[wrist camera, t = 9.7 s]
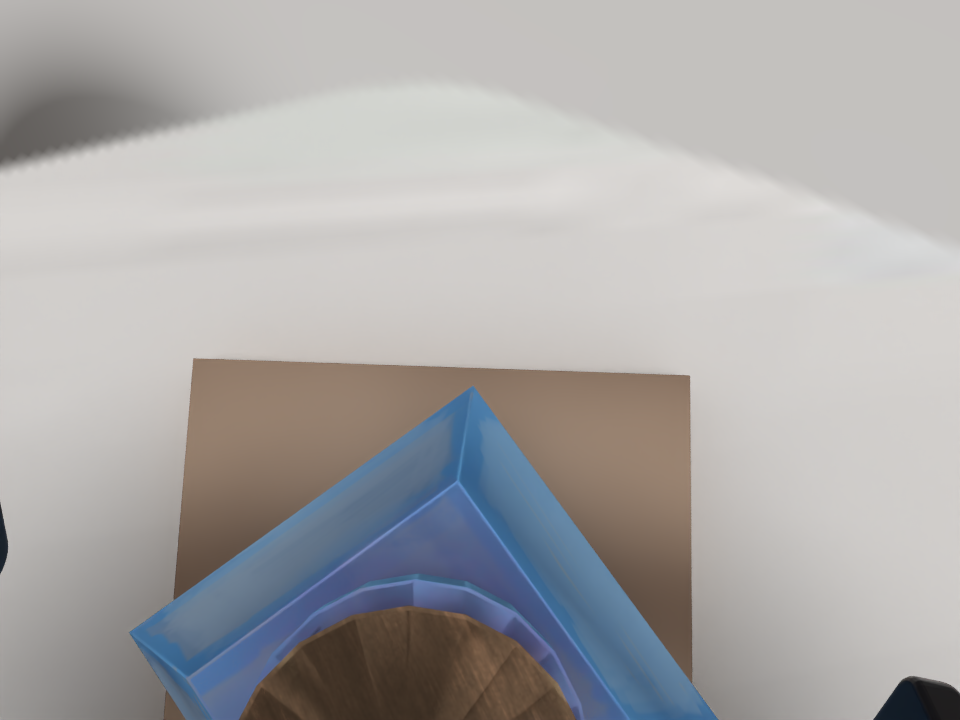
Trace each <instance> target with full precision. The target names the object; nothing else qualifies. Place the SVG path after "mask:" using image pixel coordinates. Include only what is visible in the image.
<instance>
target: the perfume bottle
mask: <svg viewBox="0 0 960 720" xmlns="http://www.w3.org/2000/svg"><path fill="white" fill-rule="evenodd" d="M129 633H130V635H131V636H132V638H133V639H134V641H135V642H136V644H137V645H138V647H139V648H140V650H141V652H142V653H143V655H144V656H145V658H146V659H147V661H148V662H149V664H150V665H151V667H152V668H153V670H154V671H155V673H156V675H157V676H158V678H159V679H160V681H161V682H162V684H163V685H164V687H165V688H166V690H167V691H168V693H169V694H170V696H171V698H172V699H173V701H174V702H175V704H176V705H177V707H178V708H179V710H180V711H181V713H182V714H183V716H184V717H185V719H186V720H718V719H717V717H716V716H715V715H714V713H713V712H712V711H711V709H710V708H709V707H708V705H707V704H706V702H705V701H704V700H703V698H702V697H701V696H700V694H699V693H698V692H697V690H696V689H695V687H694V686H693V685H692V683H691V682H690V681H689V679H688V678H687V677H686V675H685V674H684V672H683V671H682V670H681V668H680V667H679V666H678V664H677V663H676V662H675V660H674V659H673V657H672V656H671V655H670V653H669V652H668V651H667V649H666V648H665V646H664V645H663V644H662V642H661V641H660V640H659V638H658V637H657V636H656V634H655V633H654V631H653V630H652V629H651V627H650V626H649V625H648V623H647V622H646V621H645V619H644V618H643V616H642V615H641V614H640V612H639V611H638V610H637V608H636V607H635V606H634V604H633V603H632V601H631V600H630V599H629V597H628V596H627V595H626V593H625V592H624V591H623V589H622V588H621V586H620V585H619V584H618V582H617V581H616V580H615V578H614V577H613V576H612V574H611V573H610V571H609V570H608V569H607V567H606V566H605V565H604V563H603V562H602V561H601V559H600V558H599V556H598V555H597V554H596V552H595V551H594V550H593V548H592V547H591V546H590V544H589V543H588V541H587V540H586V539H585V537H584V536H583V535H582V533H581V532H580V531H579V529H578V528H577V526H576V525H575V524H574V522H573V521H572V520H571V518H570V517H569V516H568V514H567V513H566V511H565V510H564V509H563V507H562V506H561V505H560V503H559V502H558V501H557V499H556V498H555V496H554V495H553V494H552V492H551V491H550V490H549V488H548V487H547V486H546V484H545V483H544V481H543V480H542V479H541V477H540V476H539V475H538V473H537V472H536V471H535V469H534V468H533V466H532V465H531V464H530V462H529V461H528V460H527V458H526V457H525V455H524V454H523V453H522V451H521V450H520V449H519V447H518V446H517V445H516V443H515V442H514V440H513V439H512V438H511V436H510V435H509V434H508V432H507V431H506V430H505V428H504V427H503V425H502V424H501V423H500V421H499V420H498V419H497V417H496V416H495V415H494V413H493V412H492V410H491V409H490V408H489V406H488V405H487V404H486V402H485V401H484V400H483V398H482V397H481V395H480V394H479V393H478V391H477V390H476V389H475V387H474V386H472V387H470V388H469V389H468V390H466V391H465V392H463V393H462V394H461V395H459V396H458V397H456V398H455V399H454V400H452V401H451V402H450V403H448V404H447V405H445V406H444V407H443V408H441V409H440V410H438V411H437V412H436V413H434V414H433V415H431V416H430V417H429V418H427V419H426V420H424V421H423V422H422V423H420V424H419V425H417V426H416V427H415V428H413V429H412V430H411V431H409V432H408V433H406V434H405V435H404V436H402V437H401V438H399V439H398V440H397V441H395V442H394V443H392V444H391V445H390V446H388V447H387V448H385V449H384V450H383V451H381V452H380V453H378V454H377V455H376V456H374V457H373V458H372V459H370V460H369V461H367V462H366V463H365V464H363V465H362V466H360V467H359V468H358V469H356V470H355V471H353V472H352V473H351V474H349V475H348V476H346V477H345V478H344V479H342V480H341V481H339V482H338V483H337V484H335V485H334V486H333V487H331V488H330V489H328V490H327V491H326V492H324V493H323V494H321V495H320V496H319V497H317V498H316V499H314V500H313V501H312V502H310V503H309V504H307V505H306V506H305V507H303V508H302V509H300V510H299V511H298V512H296V513H295V514H294V515H292V516H291V517H289V518H288V519H287V520H285V521H284V522H282V523H281V524H280V525H278V526H277V527H275V528H274V529H273V530H271V531H270V532H268V533H267V534H266V535H264V536H263V537H262V538H260V539H259V540H257V541H256V542H255V543H253V544H252V545H250V546H249V547H248V548H246V549H245V550H243V551H242V552H241V553H239V554H238V555H236V556H235V557H234V558H232V559H231V560H229V561H228V562H227V563H225V564H224V565H223V566H221V567H220V568H218V569H217V570H216V571H214V572H213V573H211V574H210V575H209V576H207V577H206V578H204V579H203V580H202V581H200V582H199V583H197V584H196V585H195V586H193V587H192V588H190V589H189V590H188V591H186V592H185V593H184V594H182V595H181V596H179V597H178V598H177V599H175V600H174V601H172V602H171V603H170V604H168V605H167V606H165V607H164V608H163V609H161V610H160V611H158V612H157V613H156V614H154V615H153V616H151V617H150V618H149V619H147V620H146V621H145V622H143V623H142V624H140V625H139V626H138V627H136V628H135V629H133V630H132V631H131V632H129Z"/></svg>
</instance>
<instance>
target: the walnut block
mask: <svg viewBox="0 0 960 720" xmlns="http://www.w3.org/2000/svg"><path fill="white" fill-rule="evenodd" d="M472 386H474V387H475V389H476V390H477V391H478V393H479V394H480V395H481V397H482V398H483V400H484V401H485V402H486V404H487V405H488V406H489V408H490V409H491V410H492V412H493V413H494V415H495V416H496V417H497V419H498V420H499V421H500V423H501V424H502V425H503V427H504V428H505V430H506V431H507V432H508V434H509V435H510V436H511V438H512V439H513V440H514V442H515V443H516V445H517V446H518V447H519V449H520V450H521V451H522V453H523V454H524V455H525V457H526V458H527V460H528V461H529V462H530V464H531V465H532V466H533V468H534V469H535V471H536V472H537V473H538V475H539V476H540V477H541V479H542V480H543V481H544V483H545V484H546V486H547V487H548V488H549V490H550V491H551V492H552V494H553V495H554V496H555V498H556V499H557V501H558V502H559V503H560V505H561V506H562V507H563V509H564V510H565V511H566V513H567V514H568V516H569V517H570V518H571V520H572V521H573V522H574V524H575V525H576V526H577V528H578V529H579V531H580V532H581V533H582V535H583V536H584V537H585V539H586V540H587V541H588V543H589V544H590V546H591V547H592V548H593V550H594V551H595V552H596V554H597V555H598V556H599V558H600V559H601V561H602V562H603V563H604V565H605V566H606V567H607V569H608V570H609V571H610V573H611V574H612V576H613V577H614V578H615V580H616V581H617V582H618V584H619V585H620V586H621V588H622V589H623V591H624V592H625V593H626V595H627V596H628V597H629V599H630V600H631V601H632V603H633V604H634V606H635V607H636V608H637V610H638V611H639V612H640V614H641V615H642V616H643V618H644V619H645V621H646V622H647V623H648V625H649V626H650V627H651V629H652V630H653V631H654V633H655V634H656V636H657V637H658V638H659V640H660V641H661V642H662V644H663V645H664V646H665V648H666V649H667V651H668V652H669V653H670V655H671V656H672V657H673V659H674V660H675V662H676V663H677V664H678V666H679V667H680V668H681V670H682V671H683V672H684V674H685V675H686V677H687V678H688V679H689V681H690V682H691V683H692V599H691V462H690V376H688V375H659V374H630V373H601V372H572V371H543V370H514V369H485V368H456V367H427V366H398V365H369V364H340V363H311V362H282V361H253V360H224V359H195V358H193V370H192V382H191V394H190V406H189V418H188V430H187V443H186V455H185V467H184V479H183V491H182V503H181V515H180V527H179V540H178V552H177V564H176V576H175V588H174V600H175V599H177V598H178V597H179V596H181V595H182V594H184V593H185V592H186V591H188V590H189V589H190V588H192V587H193V586H195V585H196V584H197V583H199V582H200V581H202V580H203V579H204V578H206V577H207V576H209V575H210V574H211V573H213V572H214V571H216V570H217V569H218V568H220V567H221V566H223V565H224V564H225V563H227V562H228V561H229V560H231V559H232V558H234V557H235V556H236V555H238V554H239V553H241V552H242V551H243V550H245V549H246V548H248V547H249V546H250V545H252V544H253V543H255V542H256V541H257V540H259V539H260V538H262V537H263V536H264V535H266V534H267V533H268V532H270V531H271V530H273V529H274V528H275V527H277V526H278V525H280V524H281V523H282V522H284V521H285V520H287V519H288V518H289V517H291V516H292V515H294V514H295V513H296V512H298V511H299V510H300V509H302V508H303V507H305V506H306V505H307V504H309V503H310V502H312V501H313V500H314V499H316V498H317V497H319V496H320V495H321V494H323V493H324V492H326V491H327V490H328V489H330V488H331V487H333V486H334V485H335V484H337V483H338V482H339V481H341V480H342V479H344V478H345V477H346V476H348V475H349V474H351V473H352V472H353V471H355V470H356V469H358V468H359V467H360V466H362V465H363V464H365V463H366V462H367V461H369V460H370V459H372V458H373V457H374V456H376V455H377V454H378V453H380V452H381V451H383V450H384V449H385V448H387V447H388V446H390V445H391V444H392V443H394V442H395V441H397V440H398V439H399V438H401V437H402V436H404V435H405V434H406V433H408V432H409V431H411V430H412V429H413V428H415V427H416V426H417V425H419V424H420V423H422V422H423V421H424V420H426V419H427V418H429V417H430V416H431V415H433V414H434V413H436V412H437V411H438V410H440V409H441V408H443V407H444V406H445V405H447V404H448V403H450V402H451V401H452V400H454V399H455V398H456V397H458V396H459V395H461V394H462V393H463V392H465V391H466V390H468V389H469V388H470V387H472ZM174 600H173V601H174ZM164 720H186V719H185V717H184V716H183V714H182V713H181V711H180V710H179V708H178V707H177V705H176V704H175V702H174V701H173V699H172V698H171V696H170V694H169V693H168V691H167V690H166V697H165V709H164Z"/></svg>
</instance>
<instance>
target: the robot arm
mask: <svg viewBox="0 0 960 720" xmlns="http://www.w3.org/2000/svg"><path fill="white" fill-rule="evenodd" d="M7 553H8V540H7V535H6V530H5V525H4V519H3V514H2V509H1V504H0V573H1V571H2V569H3V567H4V564H5V561H6V558H7ZM874 720H960V693H959V692H958V691H957V690H956V689H955V688H954V687H952V686H951V685H949V684H947V683H944V682H941V681H936V680H931V679H926V678H921V677H916V676H909V677H907V678H905V679H903V680H902V681H901V682H900V683H899V684H898V686H897V687H896V688H895V690H894V691H893V693H892V694H891V695H890V697H889V698H888V700H887V701H886V703H885V704H884V705H883V707H882V708H881V710H880V711H879V712H878V714H877V715H876V717H875V718H874Z"/></svg>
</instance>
